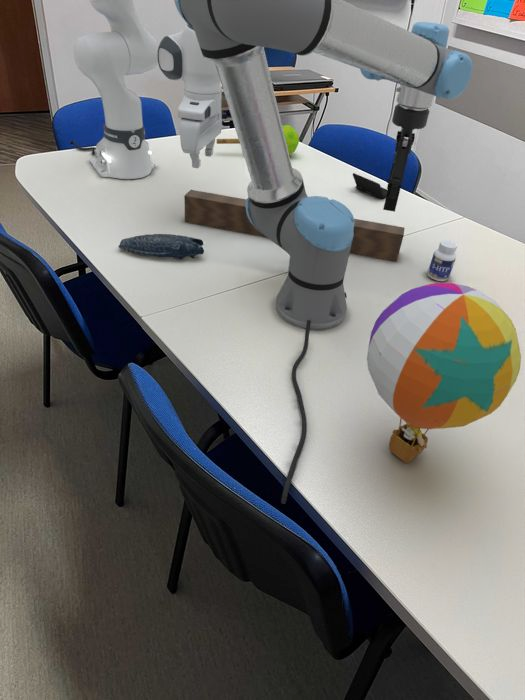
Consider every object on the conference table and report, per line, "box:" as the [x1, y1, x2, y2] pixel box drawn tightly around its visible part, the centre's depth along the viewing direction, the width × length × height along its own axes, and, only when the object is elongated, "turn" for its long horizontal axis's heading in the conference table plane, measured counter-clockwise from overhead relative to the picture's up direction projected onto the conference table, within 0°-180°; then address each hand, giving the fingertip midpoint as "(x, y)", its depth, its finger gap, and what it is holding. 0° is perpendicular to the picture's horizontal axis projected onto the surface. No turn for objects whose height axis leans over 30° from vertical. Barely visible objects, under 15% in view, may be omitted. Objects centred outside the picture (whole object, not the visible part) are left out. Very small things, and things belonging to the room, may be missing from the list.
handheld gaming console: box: [352, 172, 388, 200], centre depth 167 cm, size 12×7×10 cm
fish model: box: [118, 233, 205, 260], centre depth 125 cm, size 7×21×5 cm, turn 84°
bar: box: [183, 189, 405, 263], centre depth 137 cm, size 58×5×8 cm, turn 75°
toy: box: [366, 282, 522, 464], centre depth 73 cm, size 20×20×30 cm
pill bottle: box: [427, 239, 458, 282], centre depth 126 cm, size 5×5×9 cm
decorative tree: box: [216, 124, 300, 156], centre depth 186 cm, size 18×10×30 cm
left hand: (202, 161), depth 133 cm, fingers open, 8 cm apart
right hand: (390, 199), depth 127 cm, fingers open, 13 cm apart
